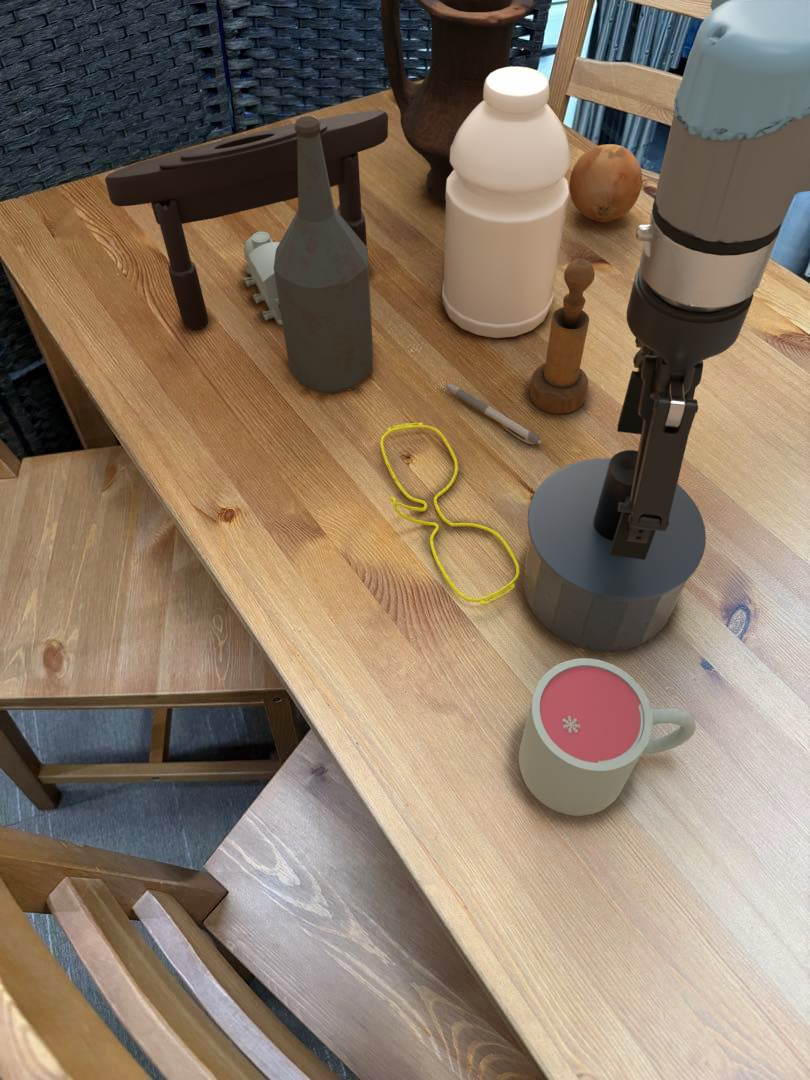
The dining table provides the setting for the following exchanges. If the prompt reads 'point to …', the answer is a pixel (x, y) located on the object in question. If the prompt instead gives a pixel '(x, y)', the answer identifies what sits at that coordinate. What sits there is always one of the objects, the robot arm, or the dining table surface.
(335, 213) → the bottle
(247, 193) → the stool
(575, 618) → the pot
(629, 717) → the mug
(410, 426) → the glasses
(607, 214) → the onion
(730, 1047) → the dining table surface
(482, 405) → the pen
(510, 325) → the bottle
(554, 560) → the lid
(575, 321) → the mortar and pestle
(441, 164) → the jug
